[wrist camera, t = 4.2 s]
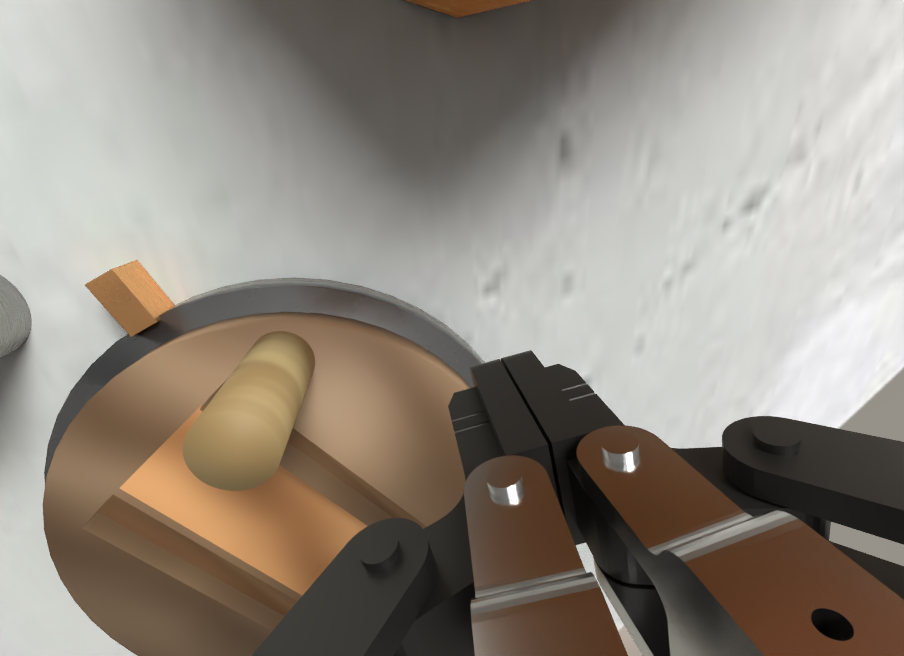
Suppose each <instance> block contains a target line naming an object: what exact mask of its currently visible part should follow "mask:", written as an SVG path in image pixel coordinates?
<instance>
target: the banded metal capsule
mask: <svg viewBox="0 0 904 656" xmlns="http://www.w3.org/2000/svg"><path fill="white" fill-rule="evenodd" d="M30 329H31V315H30V310H29V308H28V305H27V303H26V301H25V299H24V298H23V296H22V295H21V293H20V292H19V291H18V290H17V288H16V287H15V286H14V285H13V284H11V283H10V282H9V281H8V280H7V279H5V278H4V277H2V276H1V275H0V357H2V356H4V355H6V354H9V353H11V352H13V351H15V350H16V349H18V348H19V347H20V346H21V345H22V344H23V343H24V342H25V340H26V339H27V337H28V335H29V333H30Z"/></svg>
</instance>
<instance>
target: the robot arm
mask: <svg viewBox="0 0 904 656" xmlns="http://www.w3.org/2000/svg"><path fill="white" fill-rule="evenodd" d="M470 372H471V376H472V380H473V384H474V387H473V388H469V389H466V390H462V391H458V392H455V393H454V394H453V396H452V398H451V401H450V403H449V405H448V408H449V412H450V417H451V421H452V425H453V429H454V433H455V437H456V441H457V445H458V450H459V454H460V458H461V462H462V466H463V470H464V474H465V480H466V482H465V485H464V494H463V496H462V498H461V500H460V501H459V502H458V504H457V505H456V506H455V507H454V508H453V509H452V511H450V512H449V513H448V514H447V515H446V516H444V517H443V518H441V519H440V520H438V521H436V522H434V523H433V524H431V525H429V526H428V527H426V528H424V529H423V528H422V527H421V526H420V525H419V524H417V523H416V522H414V521H411V520H409V519H404V518H390V519H385V520H381V521H378V522H376V523H373V524H371V525H369V526H367V527H366V528H364V529H363V530H361V531H360V532H358V533H357V534H356V535H355V536H354V537H353V538H352V539H351V540H350V541H349V542H348V543H347V544H346V545H345V546H344V547H343V549H342V550H341V551H340V552H339V553H338V554H337V556H336V557H335V558H334V559H333V560H332V562H331V563H330V564H329V565H328V566H327V567H326V569H325V570H324V571H323V572H322V573H321V574H320V576H319V577H318V578H317V579H316V580H315V582H314V583H313V584H312V585H311V586H310V587H309V589H308V590H307V591H306V592H305V593H304V594H303V596H302V597H301V598H300V599H299V600H298V602H297V603H296V604H295V605H294V606H293V607H292V609H291V610H290V611H289V612H288V613H287V614H286V616H285V617H284V618H283V619H282V620H281V622H280V623H279V624H278V625H277V626H276V627H275V629H274V630H273V631H272V632H271V633H270V634H269V636H268V637H267V638H266V639H265V640H264V641H263V643H262V644H261V645H260V646H259V647H258V649H257V650H256V651H255V652H254V653H253V654H252V656H628V655H627V652H626V650H625V648H624V645H623V643H622V640H621V638H620V635H619V633H618V630H617V628H616V625H615V623H614V620H613V618H612V615H611V613H610V611H609V608H608V606H607V603H606V601H605V598H604V596H603V593H602V591H601V589H600V586H601V587H602V589H603V591H604V592H605V594H606V596H607V597H608V599H609V601H610V602H611V604H612V606H613V607H614V609H615V611H616V612H617V614H618V616H619V617H620V619H621V621H622V622H623V624H624V626H625V627H626V629H627V631H628V632H629V634H630V636H631V637H632V639H633V641H634V642H635V644H636V645H637V647H638V649H639V651H640V652H641V654H642V656H904V566H901V565H898V564H895V563H892V562H889V561H886V560H883V559H880V558H877V557H875V556H872V555H869V554H866V553H863V552H860V551H857V550H854V549H851V548H848V547H845V546H842V545H839V544H836V543H833V542H831V541H829V535H830V524H831V522H834V523H838V524H841V525H844V526H847V527H850V528H853V529H857V530H860V531H863V532H866V533H869V534H873V535H875V536H879V537H882V538H885V539H888V540H892V541H894V542H898V543H901V544H904V442H901V441H896V440H891V439H886V438H880V437H876V436H871V435H866V434H861V433H855V432H851V431H846V430H841V429H836V428H831V427H826V426H822V425H817V424H812V423H807V422H802V421H797V420H792V419H787V418H781V417H772V416H757V417H749V418H744V419H741V420H738V421H735V422H734V423H732V424H730V425H729V426H728V427H727V428H726V429H725V430H724V432H723V435H722V447H710V448H689V449H677V448H670V447H669V446H668V445H667V444H665V443H664V442H663V441H662V440H661V439H660V438H658V437H657V436H656V435H654V434H653V433H651V432H649V431H647V430H644V429H641V428H637V427H633V426H625V425H624V424H623V423H622V422H621V421H620V420H619V419H618V417H617V416H616V415H615V414H614V413H613V412H612V411H611V410H610V409H609V407H608V406H607V405H606V404H605V403H604V402H603V401H602V400H601V399H600V398H599V396H598V395H597V394H595V393H594V391H593V390H592V389H591V388H590V386H589V385H588V384H587V385H586V382H585V381H584V380H583V379H582V378H581V377H580V375H579V374H578V373H577V372H576V371H574V370H572V369H570V368H567V367H565V366H562V365H560V364H556V365H553V366H549V367H544V366H543V365H542V364H541V362H540V361H539V360H538V358H537V357H536V356H535V354H534V353H533V352H532V351H531V350H530V351H526V352H523V353H519V354H515V355H512V356H508V357H504V358H501V361H500V359H498V360H494V361H490V362H487V363H483V364H479V365H476V366H472V367H470ZM585 542H586V543H587V545H588V547H589V549H590V551H591V553H592V555H593V559H594V565H595V571H596V576H597V579H598V582H599V584H600V586H599V584H598V582H597V580H596V578H595V576H594V575H593V573H591V572H590V573H586V571H585V569H584V566H583V564H582V561H581V559H580V556H579V553H578V551H577V548H576V546H575V545H578V544H582V543H585Z"/></svg>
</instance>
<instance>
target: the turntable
mask: <svg viewBox="0 0 904 656" xmlns="http://www.w3.org/2000/svg"><path fill="white" fill-rule="evenodd" d="M469 388H472V387H471V386H470V385H469V384H468V383H467V382H466V381H465V380H464V379H463V377H462V376H461V375H460V374H459V373H458V372H457V371H455V370H454V369H453V368H452V367H450V366H449V365H448V364H447V363H445V362H444V361H443V360H442V359H440V358H439V357H438V356H437V355H435V354H433V353H432V352H430V351H428V350H427V349H425V348H423V347H422V346H420V345H419V344H417V343H415V342H414V341H412V340H410V339H407V338H405V337H403V336H401V335H398V334H396V333H394V332H392V331H389V330H387V329H385V328H382V327H379V326H375V325H372V324H369V323H365V322H362V321H359V320H355V319H351V318H345V317H340V316H334V315H328V314H322V313H305V312H275V313H260V314H251V315H246V316H241V317H236V318H230V319H225V320H220V321H217V322H214V323H211V324H208V325H205V326H202V327H199V328H196V329H193V330H190V331H188V332H186V333H183V334H181V335H179V336H177V337H175V338H173V339H171V340H169V341H167V342H165V343H163V344H161V345H159V346H157V347H156V348H154V349H153V350H151V351H150V352H148V353H147V354H146V355H144V356H143V357H141V358H140V359H138V360H137V361H135V362H134V363H132V364H131V365H130V366H128V367H127V368H126V369H124V370H123V371H122V372H120V373H119V374H118V375H117V376H115V377H114V378H113V379H111V380H110V381H109V382H108V383H107V384H106V385H105V386H104V387H103V388H102V389H101V390H99V391H98V392H97V393H96V394H95V395H94V396H93V397H92V398H91V399H90V400H88V402H87V403H86V404H85V405H84V407H83V408H82V409H81V410H80V412H79V413H78V414H77V416H76V417H75V418H74V419H73V421H72V422H71V423H70V424H69V426H68V428H67V430H66V432H65V433H64V435H63V437H62V439H61V441H60V443H59V444H58V446H57V448H56V450H55V453H54V456H53V459H52V462H51V465H50V468H49V471H48V474H47V477H46V484H45V492H44V499H43V515H44V531H45V535H46V539H47V543H48V548H49V552H50V556H51V558H52V560H53V562H54V565H55V567H56V569H57V572H58V574H59V576H60V579H61V580H62V582H63V583H64V585H65V587H66V588H67V590H68V591H69V593H70V594H71V596H72V598H73V599H74V601H75V602H76V603H77V604H78V605H79V607H80V608H81V609H82V610H83V611H84V612H85V613H86V615H87V616H88V617H89V618H90V619H91V620H92V621H93V622H94V623H95V624H96V625H97V626H98V627H100V628H101V629H102V630H103V631H104V632H105V633H106V634H108V635H109V636H110V637H111V638H112V639H114V640H115V641H117V642H118V643H119V644H121V645H122V646H124V647H125V648H127V649H128V650H130V651H131V652H133V653H134V654H136V655H138V656H252V654H253V653H254V652H255V651H256V650H257V649H258V647H259V646H260V645H261V644H262V643H263V641H264V640H265V639H266V638H267V637H268V636H269V634H270V633H271V632H272V631H273V630H274V629H275V627H276V626H277V625H278V624H279V623H280V622H281V620H282V619H283V618H284V617H285V616H286V614H287V613H288V612H289V611H290V610H291V609H292V607H293V606H294V605H295V604H296V603H297V602H298V600H299V599H300V598H301V597H302V596H303V594H304V593H305V592H306V591H307V590H308V589H309V587H310V586H311V585H312V584H313V583H314V582H315V580H316V579H317V578H318V577H319V576H320V574H321V573H322V572H323V571H324V570H325V569H326V567H327V566H328V565H329V564H330V563H331V562H332V560H333V559H334V558H335V557H336V556H337V554H338V553H339V552H340V551H341V550H342V549H343V547H344V546H345V545H346V544H347V543H348V542H349V541H350V540H351V539H352V538H353V537H354V536H355V535H356V534H357V533H358V532H360V531H361V530H363V529H364V528H366V527H367V526H369V525H371V524H373V523H376V522H378V521H381V520H385V519H390V518H404V519H409V520H411V521H414V522H416V523H417V524H419V525H420V526H421V527H422V528H423V529H424V528H426V527H428V526H429V525H431V524H433V523H434V522H436V521H438V520H440V519H441V518H443V517H444V516H446V515H447V514H448V513H449V512H450V511H452V509H453V508H454V507H455V506H456V505H457V504H458V502H459V501H460V500H461V498H462V496H463V494H464V485H465V482H466V480H465V474H464V470H463V466H462V462H461V458H460V454H459V450H458V445H457V441H456V437H455V433H454V429H453V425H452V421H451V417H450V412H449V408H448V405H449V403H450V401H451V398H452V396H453V394H454V393H455V392H458V391H462V390H466V389H469Z"/></svg>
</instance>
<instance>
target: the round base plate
mask: <svg viewBox="0 0 904 656" xmlns="http://www.w3.org/2000/svg"><path fill="white" fill-rule="evenodd" d="M85 286H86V287H87V288H88V289H89V290H90V292H91V293H92V294H93V295H94V296H95V297H96V298H97V299H98V300H99V302H100V303H101V304H102V305H103V306H104V307H105V308H106V309H107V311H108V312H109V313H110V314H111V315H112V316H113V317H114V318H115V319H116V321H117V322H118V323H119V324H120V325H121V326H122V327H123V328H124V330H125V331H126V332H127V333H128V334H127V335H126V336H124V337H123V338H121V339H120V340H118V341H117V342H115V343H114V344H113V345H112V346H111V347H110V348H109V349H108V350H107V351H106V352H105V353H104V354H103V355H101V356H100V357H99V358H98V359H97V360H96V361H95V362H94V363H93V364H92V365H91V366H90V367H89V368H88V370H87V371H86V372H85V374H84V375H83V376H82V377H81V379H80V380H79V381H78V382H77V384H76V385H75V386H74V388H73V389H72V390H71V392H70V394H69V396H68V398H67V399H66V401H65V403H64V405H63V407H62V409H61V411H60V413H59V414H58V416H57V419H56V422H55V425H54V428H53V431H52V434H51V437H50V440H49V444H48V449H47V457H46V465H45V472H44V474H45V484H46V477H47V474H48V471H49V468H50V465H51V462H52V459H53V456H54V453H55V450H56V448H57V446H58V444H59V443H60V441H61V439H62V437H63V435H64V433H65V432H66V430H67V428H68V426H69V424H70V423H71V422H72V421H73V419H74V418H75V417H76V416H77V414H78V413H79V412H80V410H81V409H82V408H83V407H84V405H85V404H86V403H87V402H88V400H90V399H91V398H92V397H93V396H94V395H95V394H96V393H97V392H98V391H99V390H101V389H102V388H103V387H104V386H105V385H106V384H107V383H108V382H109V381H110V380H111V379H113V378H114V377H115V376H117V375H118V374H119V373H120V372H122V371H123V370H124V369H126V368H127V367H128V366H130V365H131V364H132V363H134V362H135V361H137V360H138V359H140V358H141V357H143V356H144V355H146V354H147V353H148V352H150V351H151V350H153V349H154V348H156V347H157V346H159V345H161V344H163V343H165V342H167V341H169V340H171V339H173V338H175V337H177V336H179V335H181V334H183V333H186V332H188V331H190V330H193V329H196V328H199V327H202V326H205V325H208V324H211V323H214V322H217V321H220V320H225V319H230V318H236V317H241V316H246V315H251V314H260V313H275V312H305V313H322V314H328V315H334V316H340V317H345V318H351V319H355V320H359V321H362V322H365V323H369V324H372V325H375V326H379V327H382V328H385V329H387V330H389V331H392V332H394V333H396V334H398V335H401V336H403V337H405V338H407V339H410V340H412V341H414V342H415V343H417V344H419V345H420V346H422V347H423V348H425V349H427V350H428V351H430V352H432V353H433V354H435V355H437V356H438V357H439V358H440V359H442V360H443V361H444V362H445V363H447V364H448V365H449V366H450V367H452V368H453V369H454V370H455V371H457V372H458V373H459V374H460V375H461V376H462V377H463V379H464V380H465V381H466V382H467V383H468V384H469V385H470V386H471V387H472V388H473V387H474V384H473V380H472V376H471V372H470V367H472V366H476V365H479V364H483V363H485V362H484V361H483V360H482V359H481V358H480V357H479V356H478V354H477V353H476V352H475V351H474V350H473V349H472V348H471V347H470V345H469V344H468V343H466V342H465V341H464V340H463V339H462V338H460V337H459V336H458V335H457V334H456V333H455V332H453V331H452V330H451V329H450V328H449V327H447V326H446V325H445V324H443V323H442V322H440V321H438V320H437V319H435V318H434V317H432V316H430V315H429V314H427V313H426V312H424V311H423V310H421V309H419V308H417V307H415V306H413V305H410V304H408V303H406V302H404V301H402V300H400V299H397V298H395V297H393V296H390V295H387V294H384V293H381V292H378V291H375V290H372V289H369V288H365V287H362V286H358V285H352V284H347V283H342V282H336V281H331V280H321V279H305V278H282V279H266V280H256V281H251V282H245V283H240V284H235V285H229V286H224V287H221V288H218V289H215V290H212V291H209V292H206V293H203V294H200V295H197V296H194V297H191V298H189V299H187V300H185V301H183V302H181V303H179V304H177V305H174V304H173V303H172V302H171V300H170V299H169V298H168V297H167V296H166V294H165V293H164V292H163V291H162V290H161V288H160V287H159V286H158V285H157V284H156V282H155V281H154V280H153V279H152V278H151V276H150V275H149V274H148V273H147V271H146V270H145V269H144V268H143V267H142V265H141V264H140V263H139V262H138V261H137V260H135V261H133V262H130V263H127V264H124V265H122V266H119V267H116V268H113V269H111V270H109V271H108V272H106V273H104V274H103V275H101V276H99V277H97V278H96V279H94V280H92V281H91V282H89V283H87V284H85Z"/></svg>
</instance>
